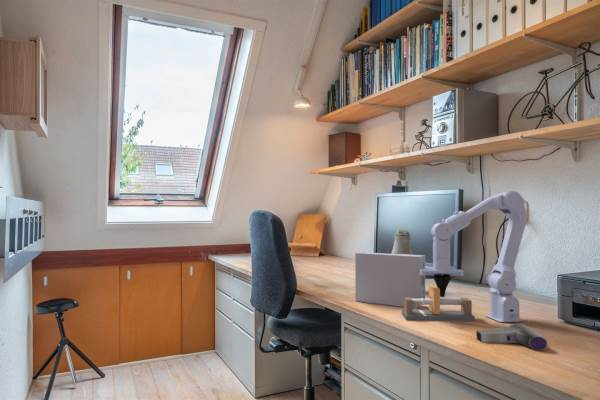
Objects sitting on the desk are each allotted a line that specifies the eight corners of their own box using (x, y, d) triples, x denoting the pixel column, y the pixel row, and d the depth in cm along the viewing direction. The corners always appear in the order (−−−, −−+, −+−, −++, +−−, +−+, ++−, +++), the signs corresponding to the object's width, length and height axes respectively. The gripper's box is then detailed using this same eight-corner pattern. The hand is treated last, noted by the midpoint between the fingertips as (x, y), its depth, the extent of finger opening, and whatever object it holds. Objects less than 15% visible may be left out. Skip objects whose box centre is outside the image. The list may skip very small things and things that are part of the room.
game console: (360, 298, 182) (360, 251, 183) (425, 306, 168) (425, 255, 169) (355, 301, 177) (355, 252, 178) (421, 309, 163) (421, 256, 164)
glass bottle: (390, 291, 197) (389, 230, 198) (392, 287, 207) (392, 229, 208) (412, 293, 194) (411, 230, 195) (413, 289, 204) (413, 229, 204)
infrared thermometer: (475, 342, 127) (525, 338, 127) (495, 356, 115) (550, 352, 115) (474, 326, 127) (524, 322, 127) (493, 339, 115) (548, 334, 115)
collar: (434, 309, 154) (434, 285, 154) (440, 314, 147) (439, 288, 147) (429, 309, 154) (428, 285, 154) (434, 313, 147) (433, 288, 147)
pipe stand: (466, 315, 154) (466, 296, 154) (474, 321, 146) (474, 301, 146) (401, 314, 155) (401, 295, 155) (406, 320, 147) (406, 300, 147)
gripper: (458, 256, 155) (459, 294, 154) (418, 255, 155) (418, 293, 155) (465, 258, 147) (465, 298, 147) (422, 258, 148) (422, 297, 148)
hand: (441, 296), depth 151 cm, fingers closed
